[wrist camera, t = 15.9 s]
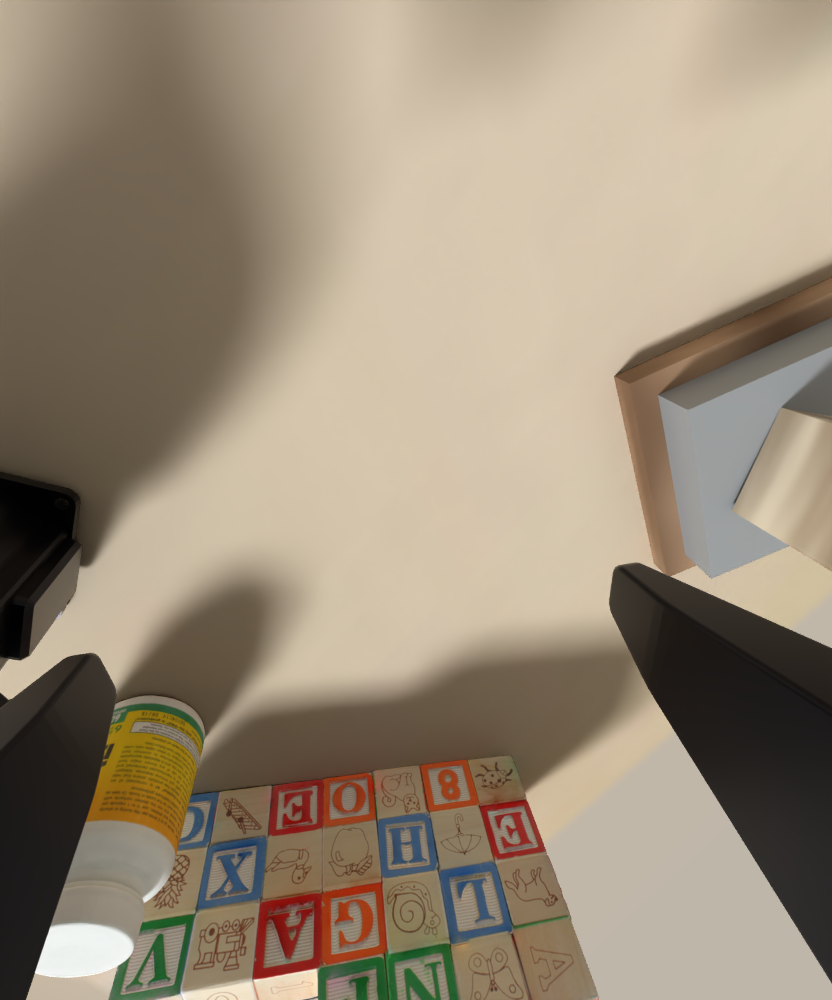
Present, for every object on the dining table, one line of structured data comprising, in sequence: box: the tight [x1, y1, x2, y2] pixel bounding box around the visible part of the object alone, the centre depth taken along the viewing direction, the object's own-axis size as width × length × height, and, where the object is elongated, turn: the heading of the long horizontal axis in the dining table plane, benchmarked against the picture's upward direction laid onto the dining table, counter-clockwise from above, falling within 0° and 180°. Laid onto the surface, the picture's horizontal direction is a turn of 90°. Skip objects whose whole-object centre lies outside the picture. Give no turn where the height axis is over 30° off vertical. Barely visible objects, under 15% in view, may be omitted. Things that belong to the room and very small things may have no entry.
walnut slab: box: [614, 277, 832, 576], centre depth 23 cm, size 11×11×2 cm
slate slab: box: [658, 318, 832, 579], centre depth 22 cm, size 9×9×2 cm
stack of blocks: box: [109, 755, 599, 1000], centre depth 27 cm, size 21×6×12 cm, turn 88°
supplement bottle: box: [35, 695, 205, 978], centre depth 22 cm, size 5×5×10 cm
